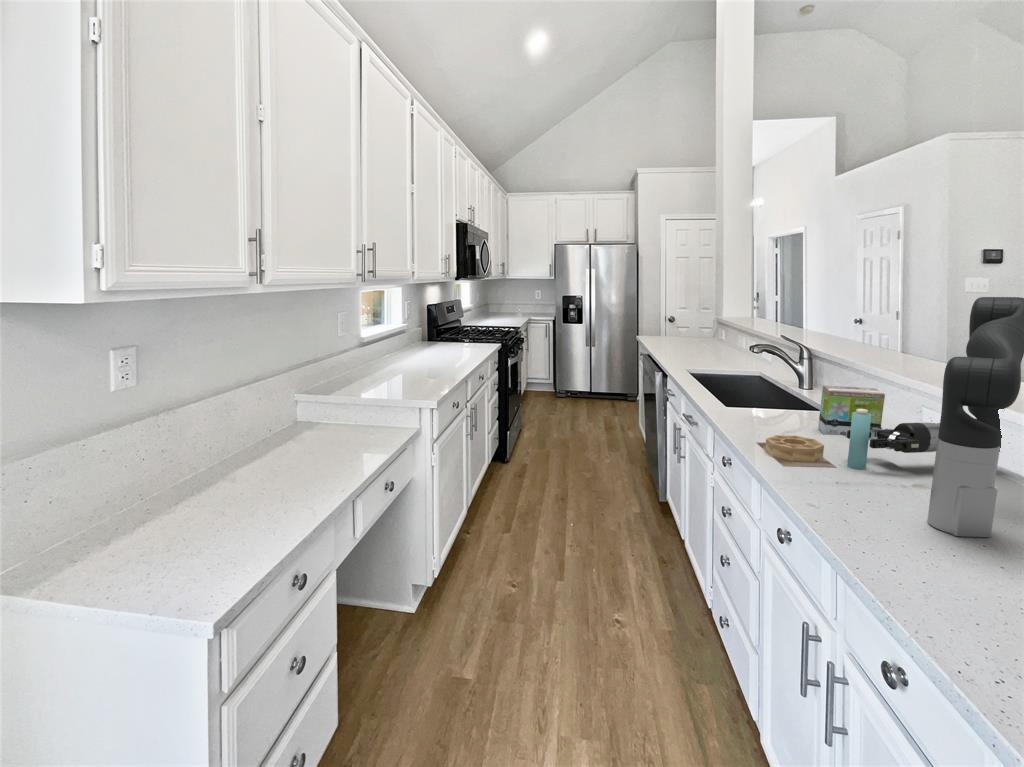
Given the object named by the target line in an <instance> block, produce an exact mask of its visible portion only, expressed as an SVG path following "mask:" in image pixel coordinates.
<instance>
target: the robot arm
mask: <svg viewBox="0 0 1024 767" xmlns="http://www.w3.org/2000/svg"><path fill="white" fill-rule="evenodd" d="M971 306H972V307H971V309H970V310H971V311H970V315H969V324H968V325H969V326H968V327H969V329H968V330H969V331H968V334H969V338H968V342H967V344H966V346H965V347H966V348H965V353H966V356H954V357H951V358H950V359H949V360H948V361H947V364H945V365H946V366H945V368H944V373H943V380H942V381H943V382H942V401H941V410H940V411H941V412H940V421H939V422H937V423H936V422H901V423H899V424H897V425H896V426H895V428H883V427H882V426H881V427H870V432H869V444H868V447H869V448H870V449H887V450H893V451H895V452H901V453H904V454H910V453H911V454H912V453H913V454H914V453H935V457H934V458H935V459H934V464H933V465H934V466H933V471H932V472H933V473H932V480H931V488H930V495H929V496H930V497H929V505H928V513H927V523H928V524H929V525H930V526H931V527H933V528H936V529H938V530H940V531H943V532H946V533H948V534H951V535H953V536H956V537H969V538H970V537H975V538H991V536H992V528H993V522H994V515H995V509H996V502H997V496H998V489H997V488H996V487H995V485H996V479H997V470H998V464H999V457H1000V453H1001V452H1000V448H1001V438H1002V435H1001V431H1000V430H1001V429H1000V419H999V414H998V410H999V409H1004V410H1005V409H1007V408H1010V407H1011V406H1012V405H1013V404H1014V403H1015V402H1016V401H1017V399H1018V396H1019V393H1020V391H1021V390H1020V389H1021V383H1022V370H1021V368H1022V361H1023V358H1024V297H1022V296H1021V297H1018V296H1017V297H1016V296H980V297H978V298H977V299H975V300H974V302H973V304H972V305H971ZM964 407H967V409H968V412H969V413H970V414H971V415H972V416H971V415H970V414H969V413H967V412H966V411H965V409H964ZM850 433H851V430H848V431H847V437H846V438H847V439H848V440H850ZM874 437H877V439H875V438H874ZM999 452H1000V453H999Z"/></svg>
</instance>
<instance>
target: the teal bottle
mask: <svg viewBox="0 0 1024 767" xmlns="http://www.w3.org/2000/svg"><path fill="white" fill-rule="evenodd" d="M870 423H871V414H869V413H868V410H866V409H857V410H856V412H853V413H852V423H851V433H850V439H849V444H848V453H847V454H848V456H847V462H846V466H847V468H850V469H854V470H861V471H862V470H866V468H867V459H868V450H869V443H870V440H869V432H870Z"/></svg>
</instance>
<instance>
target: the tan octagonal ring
mask: <svg viewBox="0 0 1024 767" xmlns="http://www.w3.org/2000/svg"><path fill="white" fill-rule="evenodd" d="M765 443H766V448H765V450H764V451H765V452H766V453H767V454H768V453H769V454H768V455H770V456H771V457H772V458H773V457H777V458H781V459H785V460H789V461H806V462H814V461H817V460H819V459H821V458H824V451H825V450H824V449H825V444H823V443H822V442H820V441H819V440H817V439H815V438H809V437H806V436H799V435H792V434H791V435H785V434H783V435H781V434H774V435H772V436H769V437H766V440H765Z"/></svg>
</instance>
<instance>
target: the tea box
mask: <svg viewBox="0 0 1024 767" xmlns="http://www.w3.org/2000/svg"><path fill="white" fill-rule="evenodd" d="M821 390H822V391H821V400H820V407H819V418H818V430H819V431H820V432H821V433H822V434H823V435H825V436H826V435H827V436H844V437H845V438H847V431H848V430H851V423H852V413H853V412H856V410H857V409H866V410H868V413H869V414H871V423H870V427H882V422H883V413H884V404H885V398H886V394H885V393H884V392H882V391H880V390H878V389H877V388H874V387H858V386H844V385H843V386H839V385H823V386H822V389H821ZM874 438H875V439H877V437H874Z"/></svg>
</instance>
